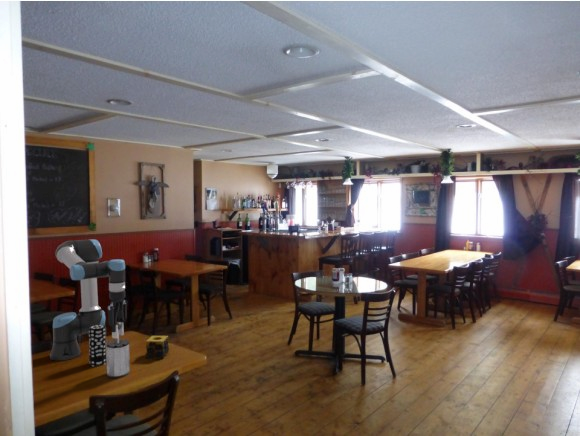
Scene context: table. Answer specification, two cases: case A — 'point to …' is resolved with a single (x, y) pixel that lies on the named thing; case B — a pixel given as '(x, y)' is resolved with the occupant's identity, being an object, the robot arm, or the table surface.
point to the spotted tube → (97, 345)
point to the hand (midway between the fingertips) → (117, 336)
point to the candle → (157, 347)
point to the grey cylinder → (118, 358)
